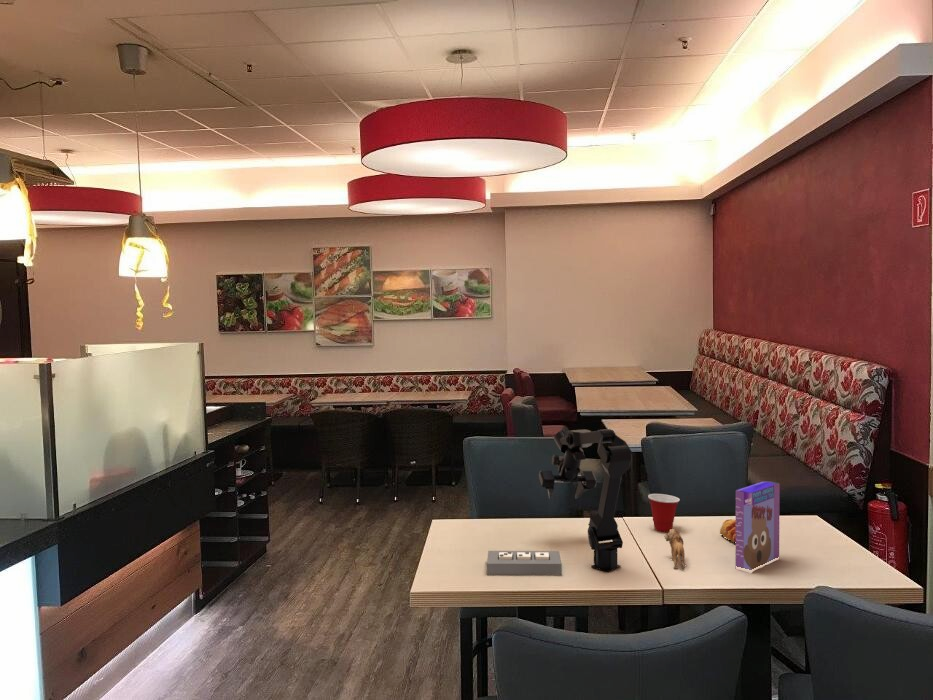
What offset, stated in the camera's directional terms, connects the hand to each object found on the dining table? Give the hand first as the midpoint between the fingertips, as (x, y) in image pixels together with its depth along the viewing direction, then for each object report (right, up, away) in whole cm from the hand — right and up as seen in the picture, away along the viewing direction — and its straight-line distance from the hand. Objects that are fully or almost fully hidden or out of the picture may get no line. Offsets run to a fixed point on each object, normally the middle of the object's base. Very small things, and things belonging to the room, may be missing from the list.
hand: (562, 498), depth 259 cm
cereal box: (+56, -15, -27) cm, 64 cm away
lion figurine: (+32, -15, -25) cm, 43 cm away
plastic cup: (+37, -13, +9) cm, 40 cm away
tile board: (-15, -16, -27) cm, 35 cm away
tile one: (-10, -13, -28) cm, 32 cm away
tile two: (-15, -14, -27) cm, 34 cm away
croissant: (+59, -14, -1) cm, 60 cm away
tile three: (-21, -14, -27) cm, 37 cm away
